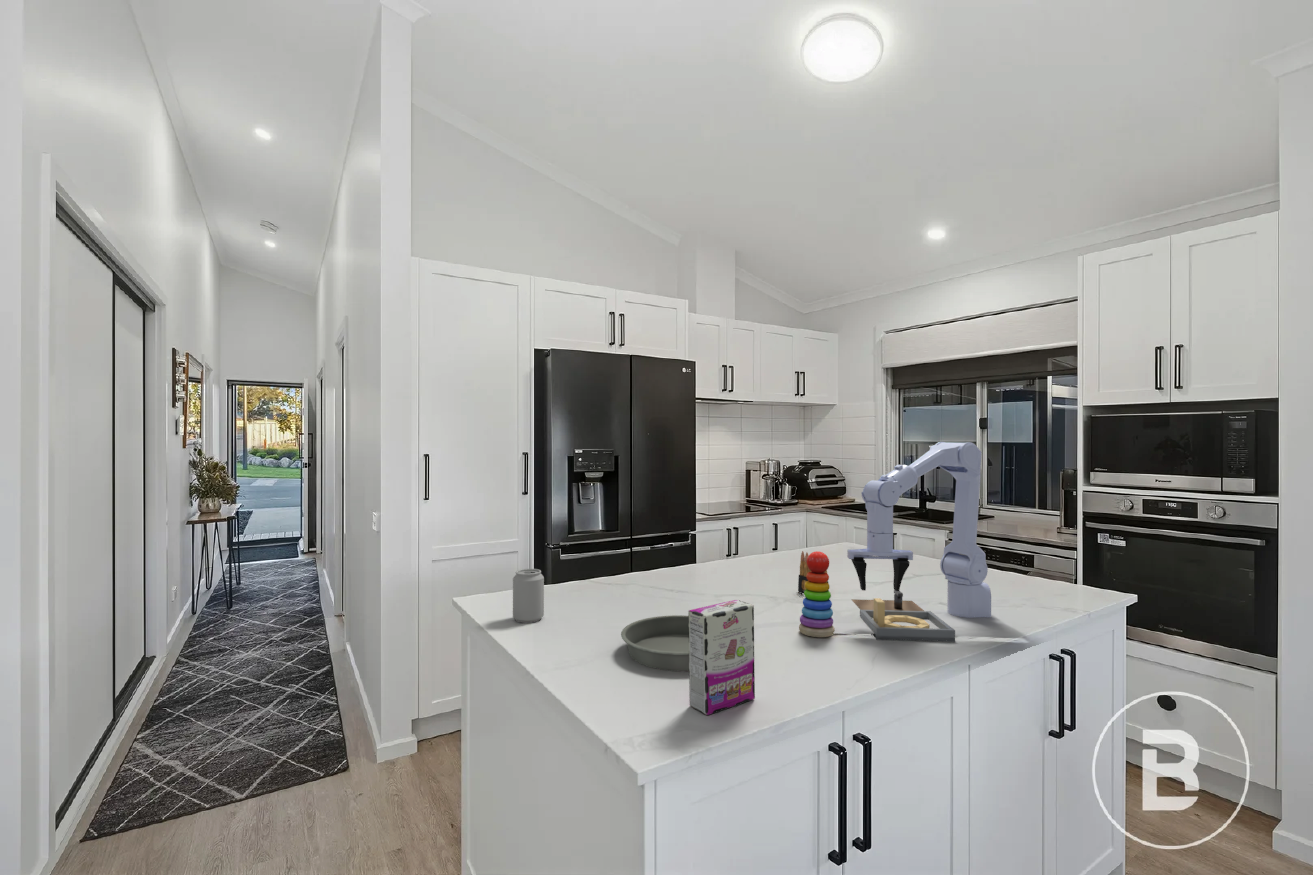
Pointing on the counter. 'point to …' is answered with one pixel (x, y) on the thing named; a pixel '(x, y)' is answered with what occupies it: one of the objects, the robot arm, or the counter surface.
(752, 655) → the candy bar box
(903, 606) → the stake board
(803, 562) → the ammunition clip
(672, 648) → the cake pan
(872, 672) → the counter surface
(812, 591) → the stacking toy
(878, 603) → the ring
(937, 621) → the tray
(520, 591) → the can
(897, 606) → the stake
